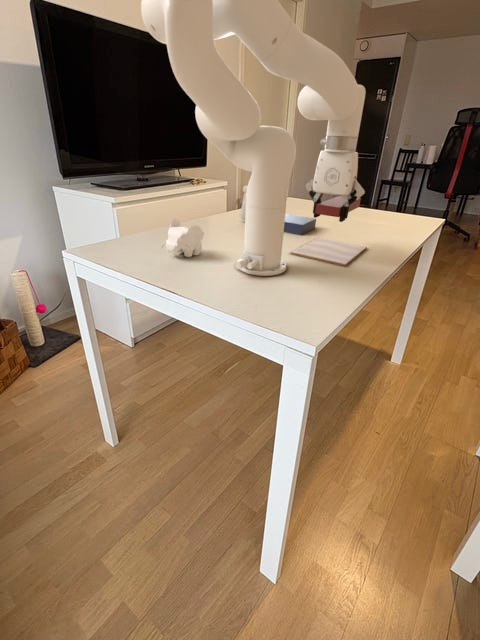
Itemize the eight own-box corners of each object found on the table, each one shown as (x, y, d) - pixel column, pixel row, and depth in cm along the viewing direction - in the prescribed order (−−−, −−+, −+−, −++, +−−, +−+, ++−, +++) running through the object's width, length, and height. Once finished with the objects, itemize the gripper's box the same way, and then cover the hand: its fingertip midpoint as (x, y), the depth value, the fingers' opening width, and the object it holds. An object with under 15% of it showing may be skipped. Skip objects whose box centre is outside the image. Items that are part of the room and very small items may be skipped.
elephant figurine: (155, 255, 94) (152, 222, 89) (189, 246, 101) (188, 215, 97) (177, 264, 88) (175, 229, 84) (211, 254, 96) (211, 222, 91)
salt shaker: (253, 224, 129) (255, 187, 122) (238, 222, 129) (239, 186, 123) (255, 220, 134) (257, 185, 127) (241, 219, 134) (242, 184, 128)
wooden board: (345, 266, 91) (345, 264, 91) (290, 254, 98) (291, 252, 98) (366, 248, 106) (366, 246, 105) (317, 239, 113) (318, 237, 113)
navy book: (301, 235, 117) (302, 224, 115) (258, 226, 125) (259, 217, 123) (315, 228, 126) (316, 218, 124) (274, 221, 134) (275, 212, 132)
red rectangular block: (338, 217, 89) (340, 207, 88) (315, 213, 92) (316, 204, 91) (359, 207, 102) (360, 198, 101) (338, 204, 105) (339, 195, 104)
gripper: (302, 143, 86) (294, 216, 94) (372, 147, 77) (356, 226, 86) (313, 143, 91) (305, 212, 100) (380, 146, 83) (365, 221, 92)
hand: (329, 218), depth 93 cm, fingers closed on red rectangular block, 6 cm apart
